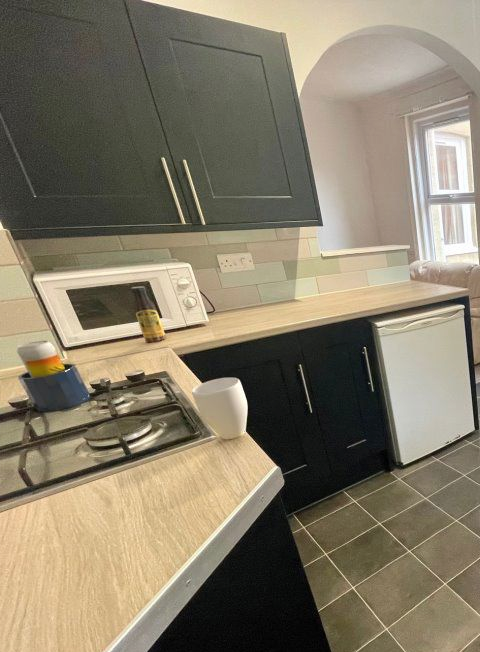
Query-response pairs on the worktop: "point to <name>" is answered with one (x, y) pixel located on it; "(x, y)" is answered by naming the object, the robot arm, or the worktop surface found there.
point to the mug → (222, 406)
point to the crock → (56, 389)
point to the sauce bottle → (147, 316)
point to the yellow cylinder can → (40, 358)
